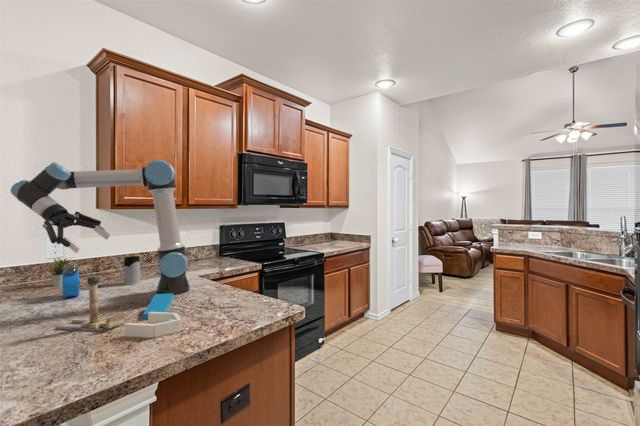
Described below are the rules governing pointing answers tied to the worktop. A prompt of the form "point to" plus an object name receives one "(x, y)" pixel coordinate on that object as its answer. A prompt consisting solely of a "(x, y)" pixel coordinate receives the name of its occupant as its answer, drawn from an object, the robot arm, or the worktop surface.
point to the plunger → (93, 307)
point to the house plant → (58, 271)
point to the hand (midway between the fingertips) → (93, 243)
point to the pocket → (155, 325)
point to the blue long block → (159, 304)
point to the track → (79, 327)
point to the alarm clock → (71, 281)
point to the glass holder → (131, 270)
